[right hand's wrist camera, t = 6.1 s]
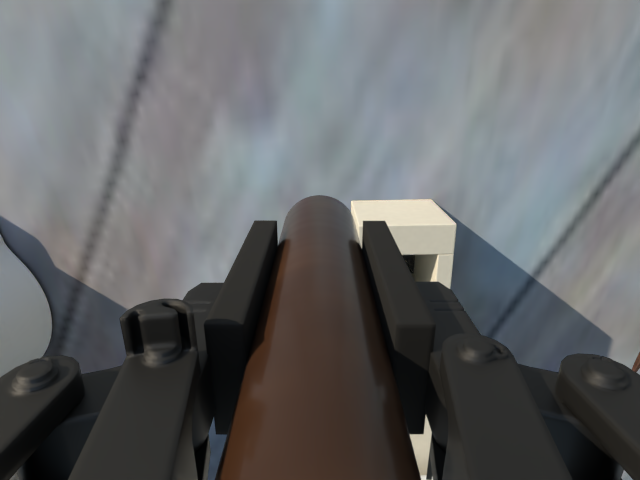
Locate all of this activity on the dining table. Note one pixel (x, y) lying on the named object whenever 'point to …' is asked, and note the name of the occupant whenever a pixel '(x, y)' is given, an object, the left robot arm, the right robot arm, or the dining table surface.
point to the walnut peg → (318, 366)
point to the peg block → (430, 258)
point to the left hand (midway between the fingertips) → (385, 440)
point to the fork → (636, 364)
